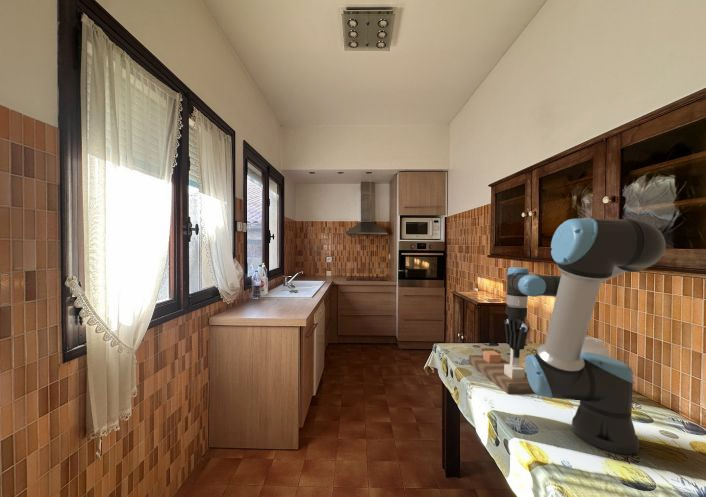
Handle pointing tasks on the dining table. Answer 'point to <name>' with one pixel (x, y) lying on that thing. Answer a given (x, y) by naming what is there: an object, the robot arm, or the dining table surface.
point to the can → (594, 347)
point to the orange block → (491, 356)
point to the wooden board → (500, 375)
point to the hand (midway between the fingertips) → (514, 364)
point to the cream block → (514, 371)
